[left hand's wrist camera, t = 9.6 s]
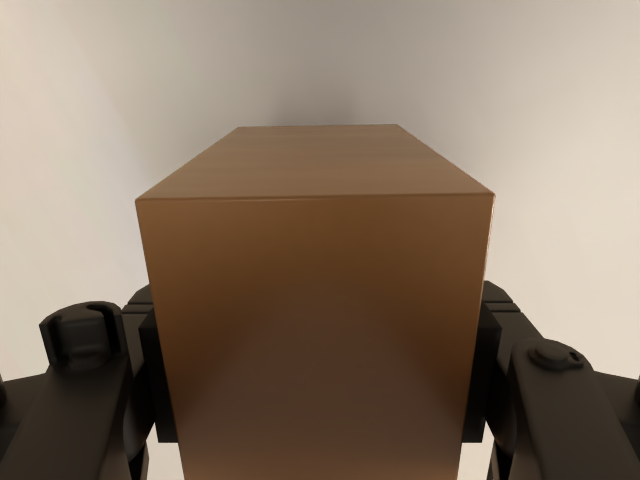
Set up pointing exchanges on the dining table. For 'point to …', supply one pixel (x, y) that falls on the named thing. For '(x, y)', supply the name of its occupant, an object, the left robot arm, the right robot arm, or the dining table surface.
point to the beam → (317, 303)
